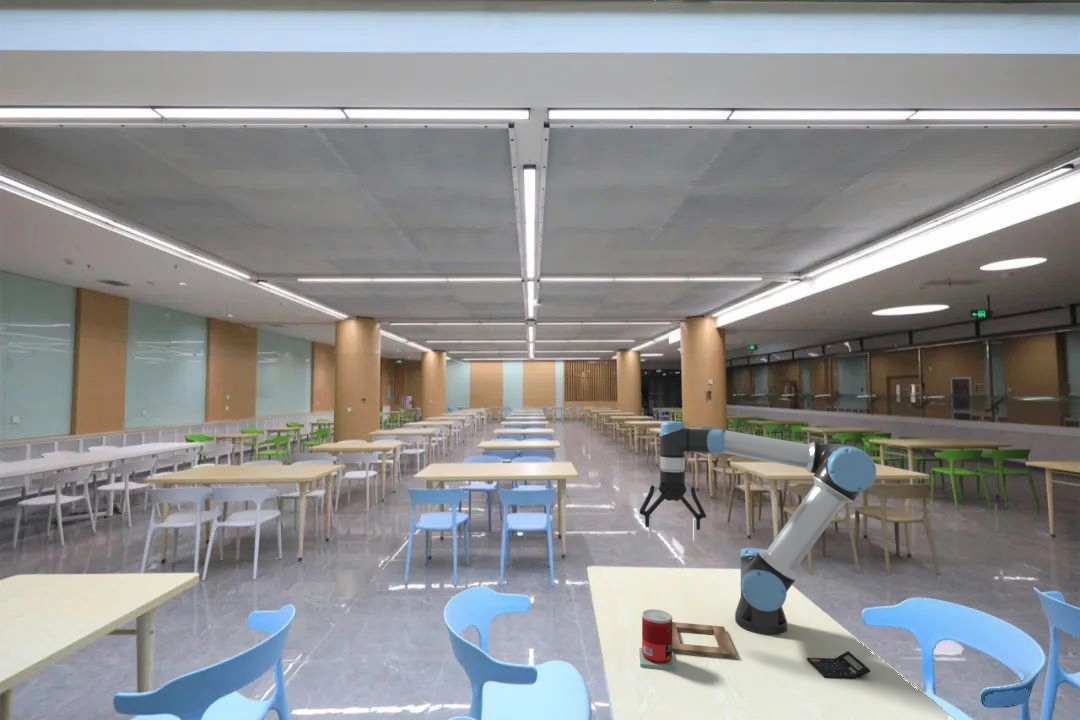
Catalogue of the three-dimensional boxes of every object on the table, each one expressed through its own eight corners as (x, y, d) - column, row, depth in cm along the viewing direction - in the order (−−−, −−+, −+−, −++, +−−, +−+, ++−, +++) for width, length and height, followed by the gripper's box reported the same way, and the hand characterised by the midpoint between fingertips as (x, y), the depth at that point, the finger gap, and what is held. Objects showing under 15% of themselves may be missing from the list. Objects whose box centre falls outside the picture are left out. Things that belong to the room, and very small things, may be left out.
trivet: (672, 653, 142) (672, 650, 142) (675, 670, 134) (675, 667, 134) (639, 650, 144) (639, 647, 144) (640, 666, 135) (640, 663, 135)
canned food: (673, 665, 134) (673, 622, 135) (641, 662, 136) (642, 618, 137) (671, 652, 142) (671, 610, 143) (642, 648, 143) (642, 607, 144)
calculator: (806, 660, 141) (806, 649, 141) (850, 662, 141) (849, 650, 141) (824, 679, 132) (824, 666, 132) (870, 680, 131) (870, 668, 131)
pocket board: (723, 630, 158) (723, 626, 158) (736, 659, 140) (736, 654, 140) (663, 625, 161) (663, 621, 161) (668, 652, 143) (668, 648, 143)
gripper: (711, 470, 165) (711, 538, 163) (632, 467, 169) (631, 533, 167) (715, 473, 158) (715, 544, 156) (632, 470, 162) (632, 539, 160)
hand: (672, 539), depth 162 cm, fingers open, 13 cm apart
